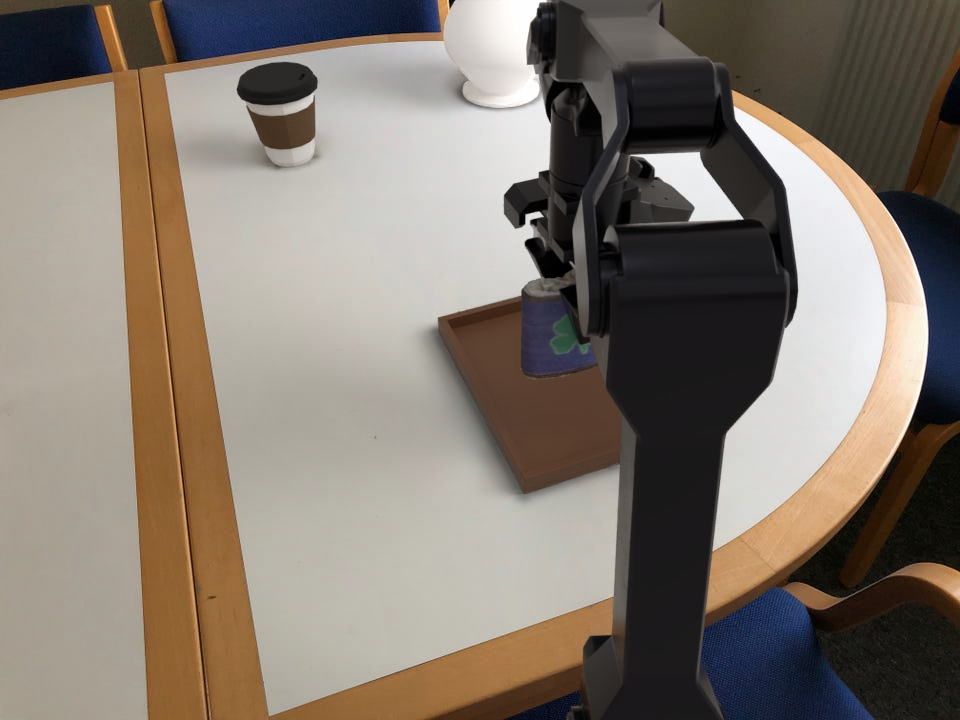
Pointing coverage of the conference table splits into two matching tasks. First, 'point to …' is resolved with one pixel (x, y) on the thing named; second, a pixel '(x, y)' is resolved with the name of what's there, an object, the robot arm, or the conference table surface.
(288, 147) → the coffee cup
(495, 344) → the serving tray
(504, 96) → the decorative vase
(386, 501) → the conference table surface
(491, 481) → the conference table surface
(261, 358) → the conference table surface
